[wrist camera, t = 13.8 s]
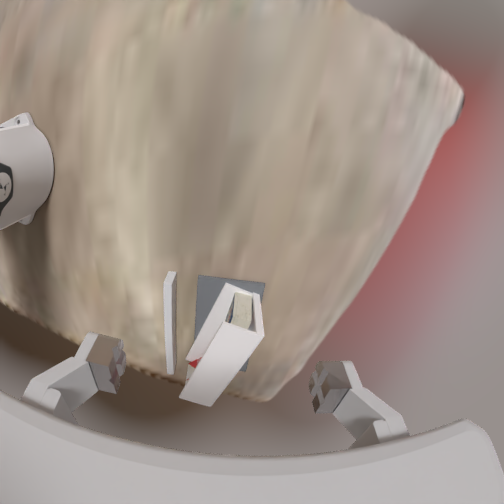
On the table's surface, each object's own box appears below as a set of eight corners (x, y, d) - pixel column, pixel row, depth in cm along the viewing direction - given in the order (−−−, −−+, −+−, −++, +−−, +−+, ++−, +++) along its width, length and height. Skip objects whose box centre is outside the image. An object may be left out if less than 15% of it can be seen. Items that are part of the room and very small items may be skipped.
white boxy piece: (226, 281, 41) (223, 321, 33) (259, 294, 43) (264, 336, 34) (183, 361, 49) (176, 401, 40) (211, 371, 50) (207, 410, 42)
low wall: (170, 360, 49) (167, 373, 46) (168, 271, 41) (163, 283, 38) (176, 361, 49) (173, 374, 46) (176, 272, 41) (171, 284, 38)
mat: (193, 363, 50) (193, 366, 49) (198, 275, 41) (198, 277, 41) (245, 369, 51) (245, 371, 50) (264, 282, 42) (265, 285, 42)
